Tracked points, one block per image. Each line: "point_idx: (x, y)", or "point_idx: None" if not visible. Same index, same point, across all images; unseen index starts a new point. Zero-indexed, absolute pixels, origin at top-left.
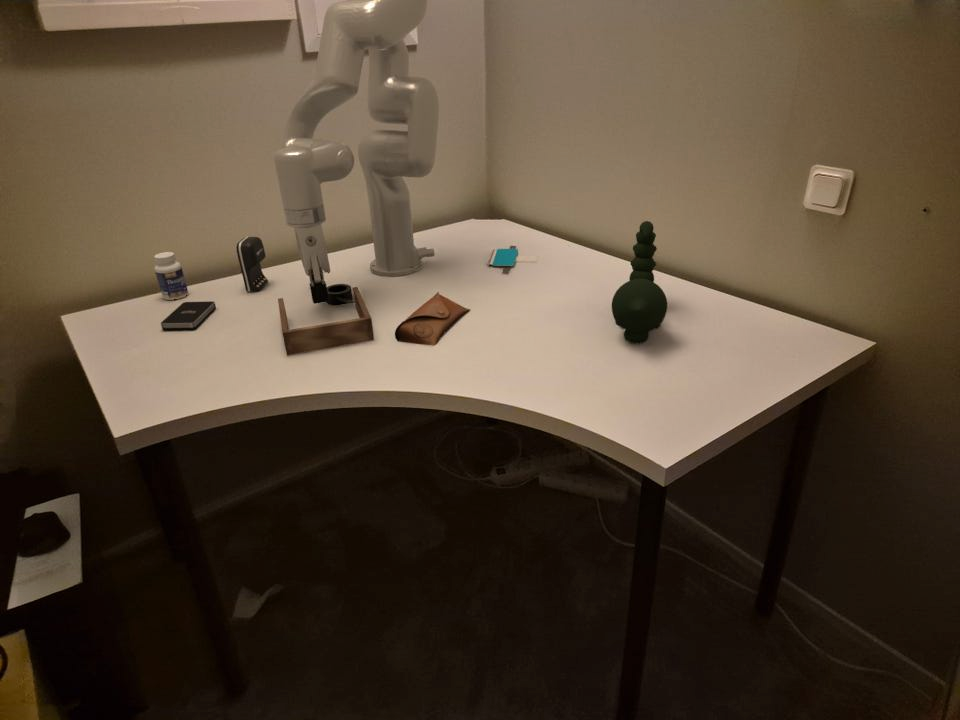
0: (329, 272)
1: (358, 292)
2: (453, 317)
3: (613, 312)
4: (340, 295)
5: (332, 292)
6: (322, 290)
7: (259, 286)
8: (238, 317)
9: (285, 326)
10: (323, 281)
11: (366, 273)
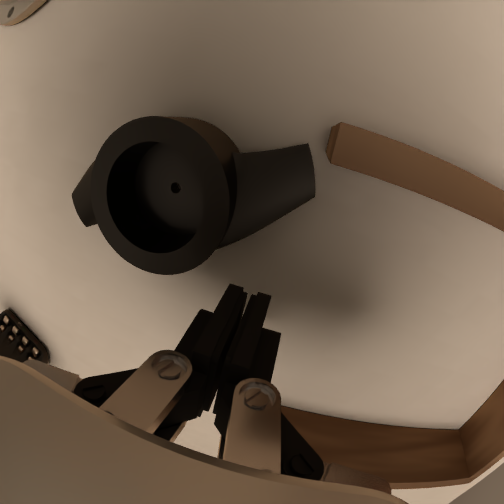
0: (402, 500)
1: (462, 182)
2: None
3: None
4: (232, 210)
5: (188, 245)
6: (272, 370)
7: (33, 344)
8: (176, 439)
9: (449, 481)
10: (279, 416)
11: (24, 35)
